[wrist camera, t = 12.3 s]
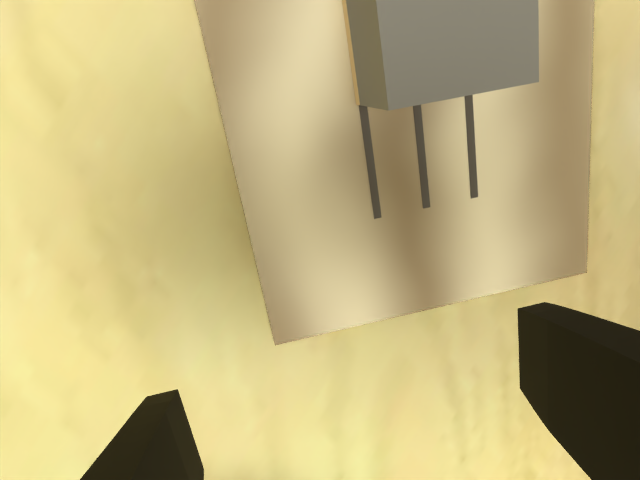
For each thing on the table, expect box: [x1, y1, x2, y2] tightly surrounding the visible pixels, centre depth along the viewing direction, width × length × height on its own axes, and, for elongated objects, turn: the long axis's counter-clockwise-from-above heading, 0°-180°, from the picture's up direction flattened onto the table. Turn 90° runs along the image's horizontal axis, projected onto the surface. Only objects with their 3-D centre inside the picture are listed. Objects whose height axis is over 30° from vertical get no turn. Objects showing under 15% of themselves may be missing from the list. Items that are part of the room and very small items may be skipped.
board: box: [194, 0, 594, 345], centre depth 17 cm, size 14×18×1 cm
